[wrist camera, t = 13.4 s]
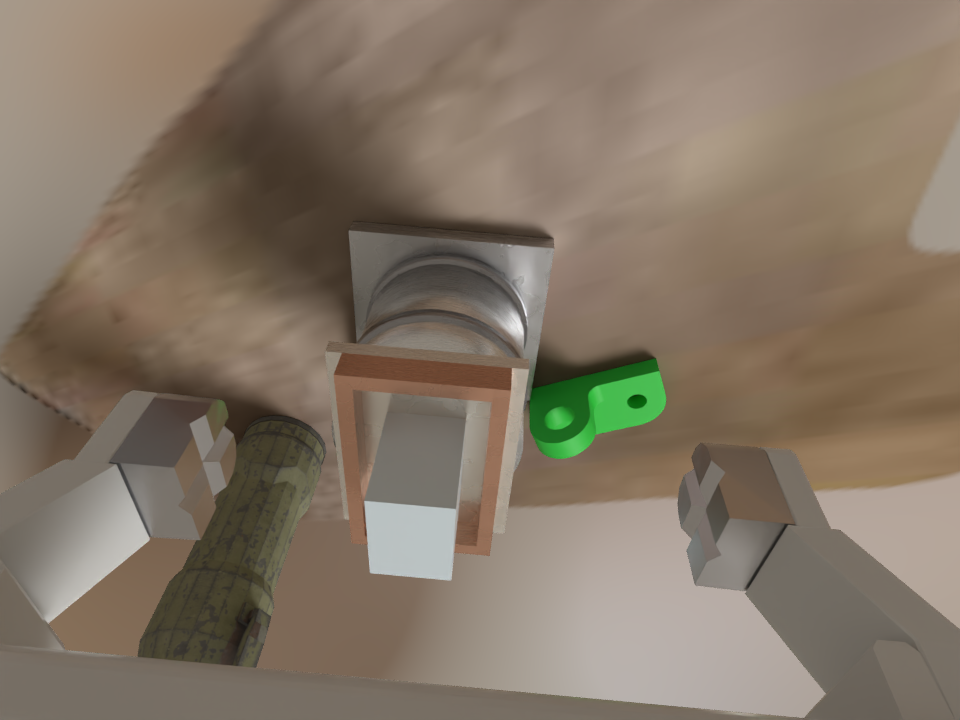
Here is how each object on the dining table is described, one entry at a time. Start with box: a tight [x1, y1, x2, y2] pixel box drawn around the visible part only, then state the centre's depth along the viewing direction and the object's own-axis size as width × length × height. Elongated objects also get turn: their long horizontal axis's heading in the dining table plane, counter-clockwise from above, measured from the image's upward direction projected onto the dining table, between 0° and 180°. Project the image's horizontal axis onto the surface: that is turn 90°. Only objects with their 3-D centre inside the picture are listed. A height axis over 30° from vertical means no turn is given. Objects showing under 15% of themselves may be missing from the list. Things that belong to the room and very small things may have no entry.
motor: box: [325, 221, 554, 556], centre depth 47 cm, size 16×16×19 cm
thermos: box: [138, 416, 326, 668], centre depth 52 cm, size 9×12×35 cm
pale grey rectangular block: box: [364, 412, 466, 580], centre depth 39 cm, size 5×9×7 cm, turn 176°
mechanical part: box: [530, 358, 666, 459], centre depth 56 cm, size 12×6×8 cm, turn 111°
